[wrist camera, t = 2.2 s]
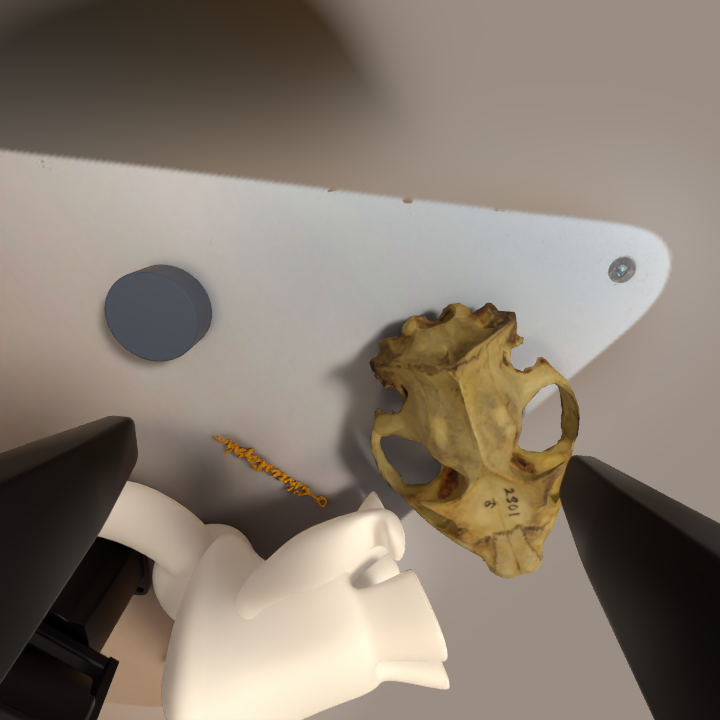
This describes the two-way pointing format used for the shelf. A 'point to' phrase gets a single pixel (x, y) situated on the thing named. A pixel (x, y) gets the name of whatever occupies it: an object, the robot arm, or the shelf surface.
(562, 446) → the animal skull
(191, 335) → the short blue cylinder
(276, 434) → the shelf surface
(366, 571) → the toy animal
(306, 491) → the keychain
